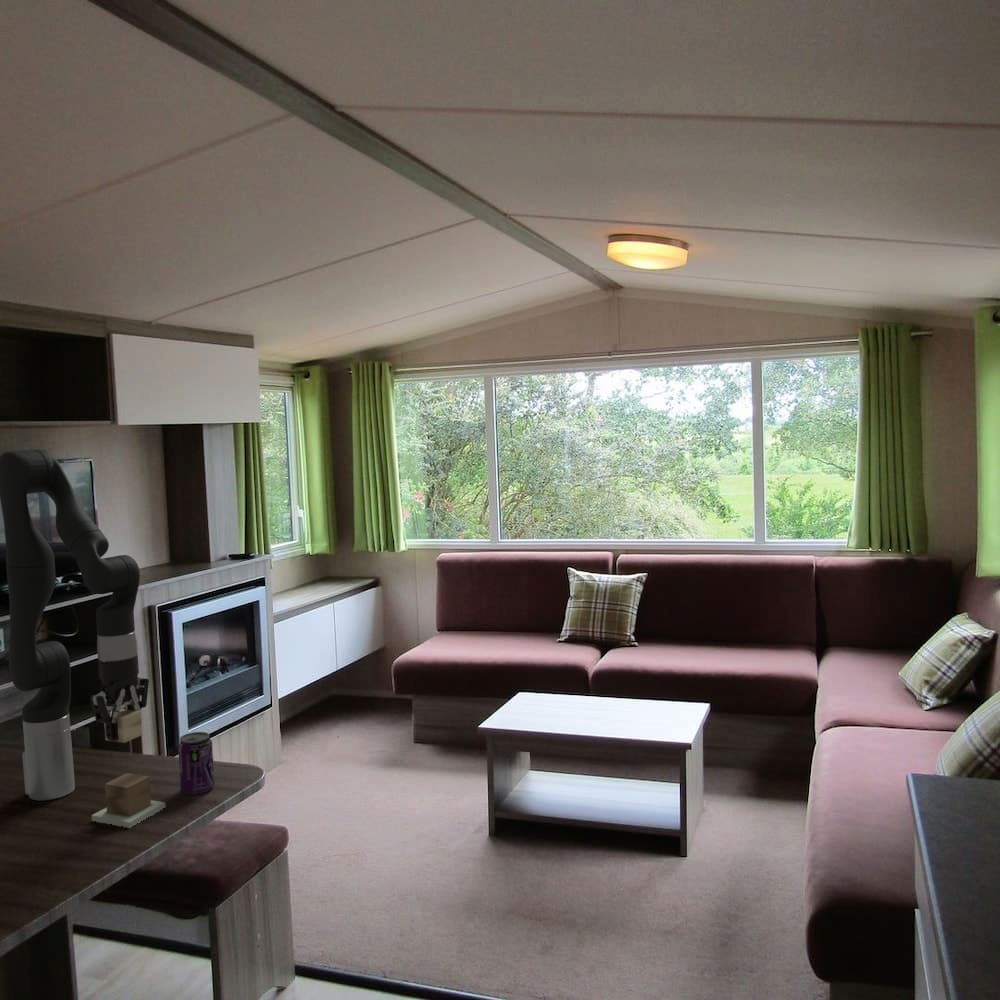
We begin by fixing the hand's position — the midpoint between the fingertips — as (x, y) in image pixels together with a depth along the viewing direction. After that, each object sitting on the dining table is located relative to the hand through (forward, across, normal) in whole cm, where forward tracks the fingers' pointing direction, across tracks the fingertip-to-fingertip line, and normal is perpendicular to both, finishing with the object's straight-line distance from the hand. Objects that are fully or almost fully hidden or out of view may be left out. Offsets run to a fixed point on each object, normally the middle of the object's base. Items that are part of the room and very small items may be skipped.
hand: (123, 735), depth 193 cm
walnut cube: (+16, 0, 0) cm, 16 cm away
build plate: (+17, 0, 0) cm, 17 cm away
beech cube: (0, 0, 0) cm, 0 cm away
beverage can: (+17, -15, +5) cm, 23 cm away
